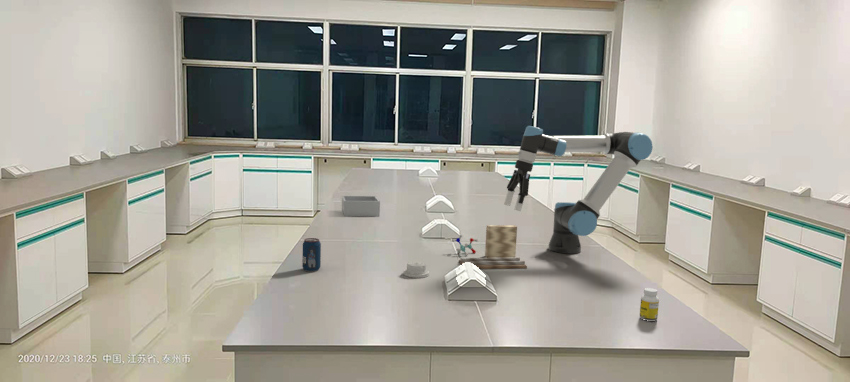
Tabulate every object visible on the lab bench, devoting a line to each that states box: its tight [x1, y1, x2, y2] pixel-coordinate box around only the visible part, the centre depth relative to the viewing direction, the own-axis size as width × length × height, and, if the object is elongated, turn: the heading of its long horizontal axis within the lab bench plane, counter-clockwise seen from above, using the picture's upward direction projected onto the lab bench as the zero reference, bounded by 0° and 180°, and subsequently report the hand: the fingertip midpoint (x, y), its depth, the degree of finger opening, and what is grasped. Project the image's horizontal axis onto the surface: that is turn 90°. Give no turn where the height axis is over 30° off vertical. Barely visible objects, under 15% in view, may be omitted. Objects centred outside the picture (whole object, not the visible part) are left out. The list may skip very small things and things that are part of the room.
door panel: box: [484, 224, 518, 258], centre depth 273 cm, size 13×4×14 cm, turn 101°
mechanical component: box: [402, 261, 430, 279], centre depth 239 cm, size 10×4×10 cm
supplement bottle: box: [639, 287, 660, 322], centre depth 196 cm, size 5×5×10 cm
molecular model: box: [451, 234, 479, 257], centre depth 277 cm, size 12×10×10 cm
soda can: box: [301, 237, 322, 273], centre depth 239 cm, size 7×7×12 cm
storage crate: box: [341, 195, 381, 217], centre depth 371 cm, size 21×21×9 cm
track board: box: [458, 257, 528, 270], centre depth 258 cm, size 26×12×2 cm, turn 101°
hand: (512, 207), depth 271 cm, fingers open, 13 cm apart
